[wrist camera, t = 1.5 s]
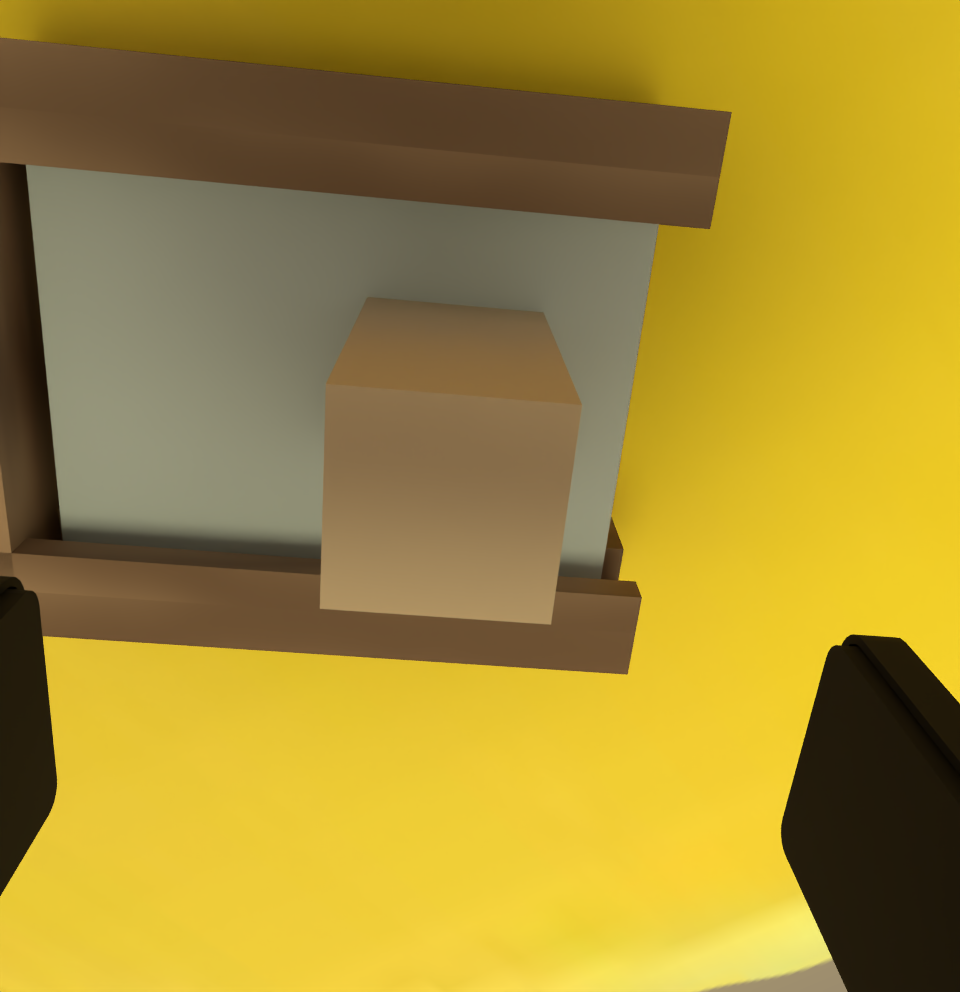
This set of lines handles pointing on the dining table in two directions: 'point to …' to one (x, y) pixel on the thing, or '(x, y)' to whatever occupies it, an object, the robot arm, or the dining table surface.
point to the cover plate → (267, 335)
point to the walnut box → (317, 168)
